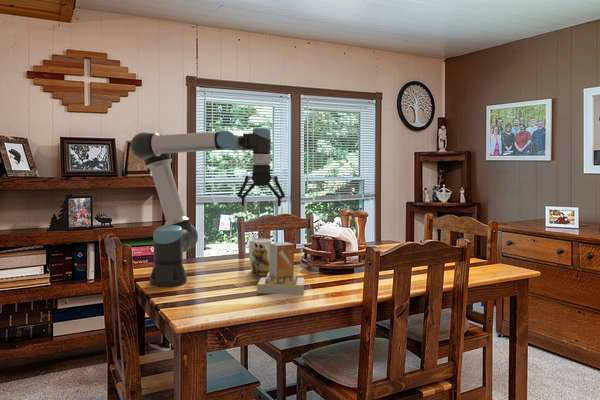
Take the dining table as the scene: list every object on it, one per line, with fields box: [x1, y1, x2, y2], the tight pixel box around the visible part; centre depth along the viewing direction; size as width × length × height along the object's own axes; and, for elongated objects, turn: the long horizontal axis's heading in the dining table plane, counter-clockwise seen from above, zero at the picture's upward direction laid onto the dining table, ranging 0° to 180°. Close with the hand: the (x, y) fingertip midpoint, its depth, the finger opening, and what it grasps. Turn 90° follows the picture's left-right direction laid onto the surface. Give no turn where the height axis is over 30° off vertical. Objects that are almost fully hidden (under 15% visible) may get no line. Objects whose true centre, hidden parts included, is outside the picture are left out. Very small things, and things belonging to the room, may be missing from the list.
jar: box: [248, 237, 273, 273], centre depth 232 cm, size 11×10×15 cm
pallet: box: [265, 272, 298, 284], centre depth 201 cm, size 12×12×2 cm
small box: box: [269, 241, 295, 278], centre depth 200 cm, size 8×6×13 cm
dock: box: [256, 277, 305, 295], centre depth 201 cm, size 18×14×4 cm
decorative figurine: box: [251, 243, 269, 280], centre depth 222 cm, size 10×8×15 cm
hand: (261, 214), depth 214 cm, fingers open, 13 cm apart
